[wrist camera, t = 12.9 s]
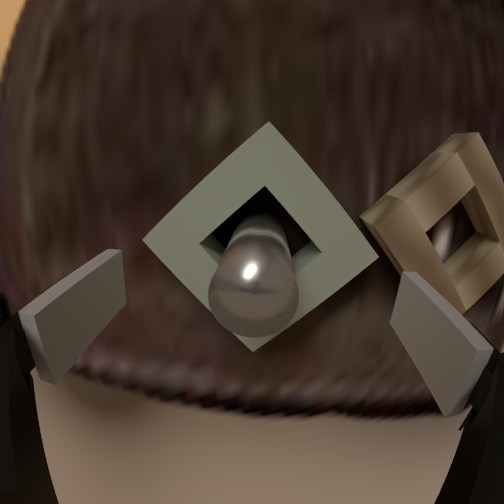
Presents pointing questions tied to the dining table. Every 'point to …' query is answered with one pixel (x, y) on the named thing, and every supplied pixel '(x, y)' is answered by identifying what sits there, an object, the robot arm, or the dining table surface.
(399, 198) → the block
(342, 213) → the socket block
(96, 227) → the dining table surface
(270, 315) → the lock pin
